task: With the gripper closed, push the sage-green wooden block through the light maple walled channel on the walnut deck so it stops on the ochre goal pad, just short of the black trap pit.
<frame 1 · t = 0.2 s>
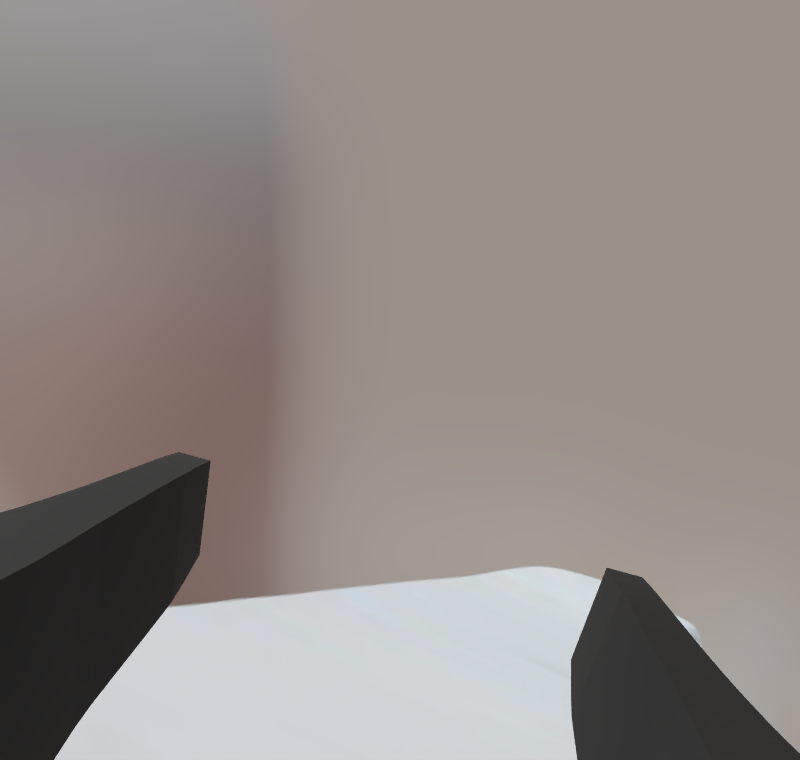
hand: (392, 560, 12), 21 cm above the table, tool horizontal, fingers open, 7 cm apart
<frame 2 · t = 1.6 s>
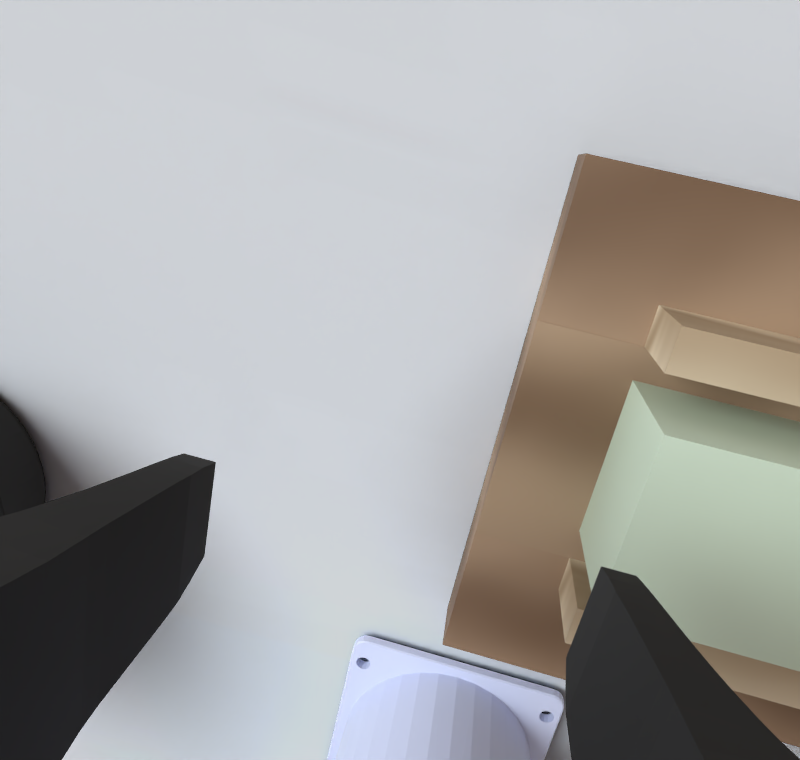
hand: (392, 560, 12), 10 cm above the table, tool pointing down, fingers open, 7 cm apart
block: (690, 480, 19), point 2 cm above the table, touching deck
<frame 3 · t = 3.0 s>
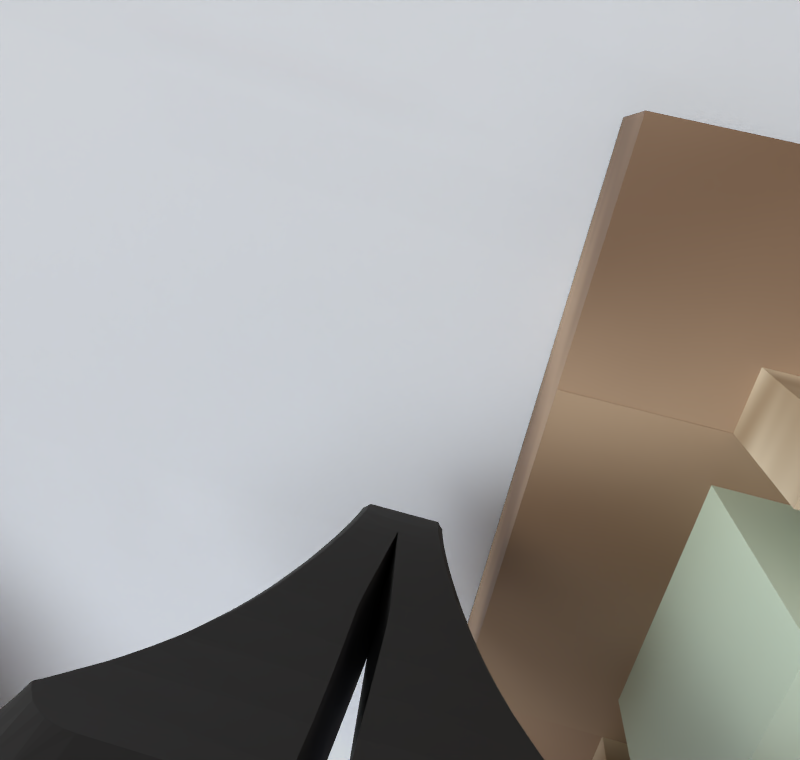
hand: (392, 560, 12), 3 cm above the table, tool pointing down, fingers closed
block: (797, 637, 12), point 2 cm above the table, touching deck
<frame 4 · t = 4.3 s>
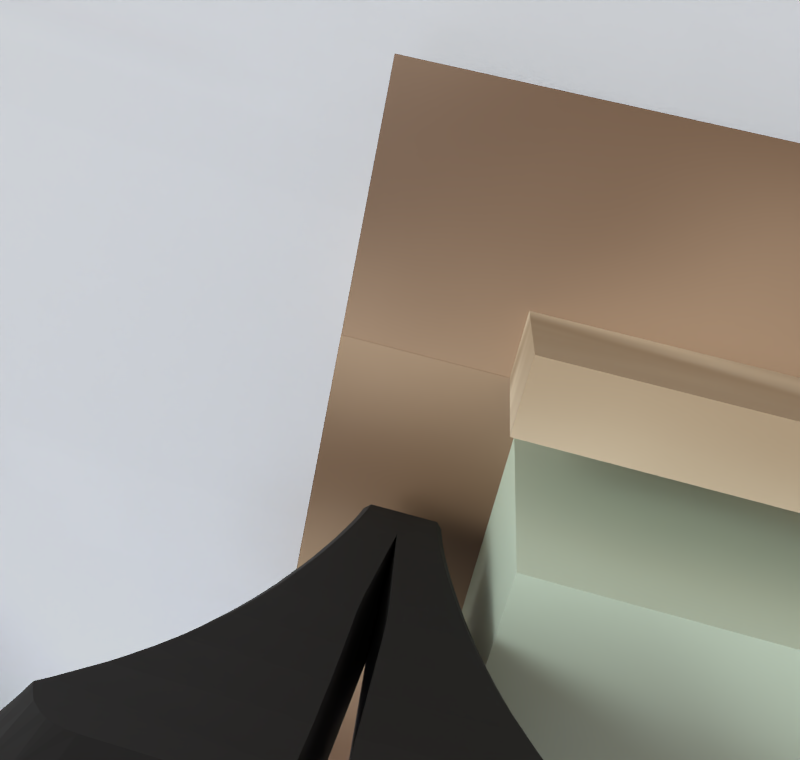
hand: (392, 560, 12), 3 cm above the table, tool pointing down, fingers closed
block: (610, 588, 12), point 2 cm above the table, touching gripper
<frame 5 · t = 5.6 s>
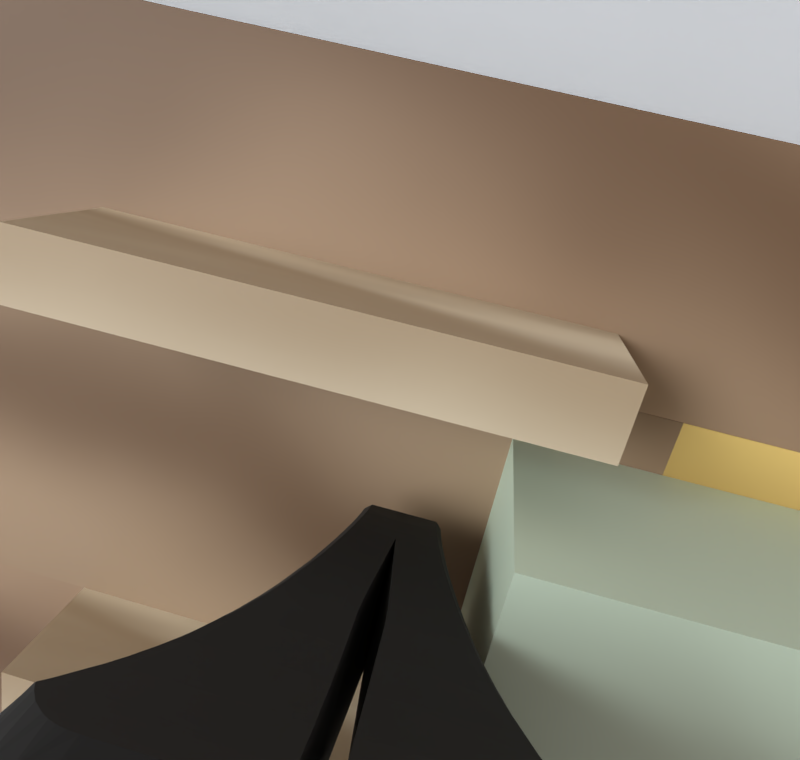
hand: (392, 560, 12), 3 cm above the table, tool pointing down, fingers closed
block: (608, 589, 12), point 2 cm above the table, touching deck, gripper
deck: (624, 538, 14), on the table
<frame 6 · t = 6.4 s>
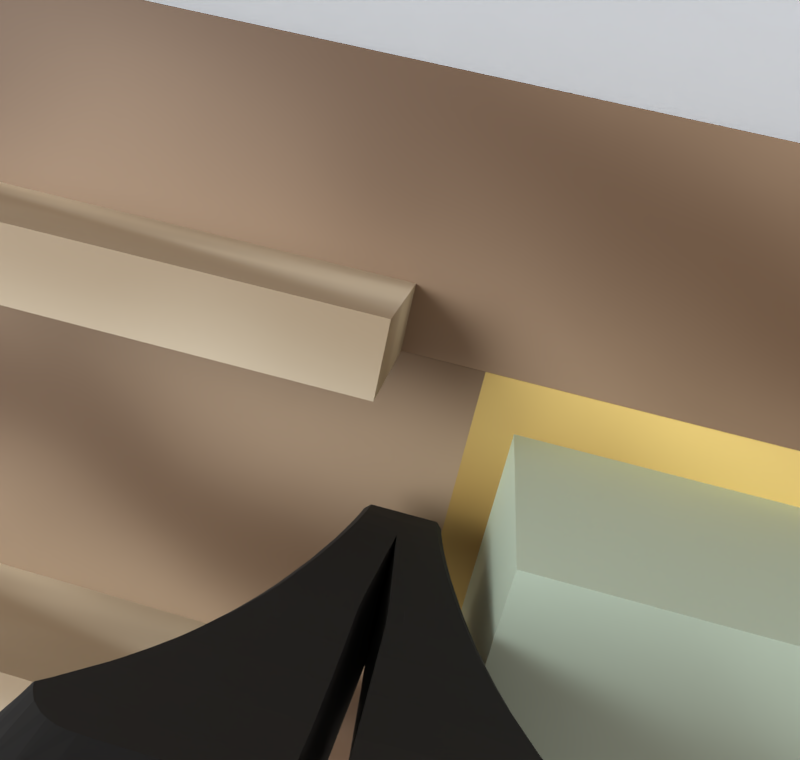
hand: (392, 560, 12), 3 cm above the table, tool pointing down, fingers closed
block: (609, 586, 12), point 2 cm above the table, touching deck, gripper
deck: (470, 496, 14), on the table
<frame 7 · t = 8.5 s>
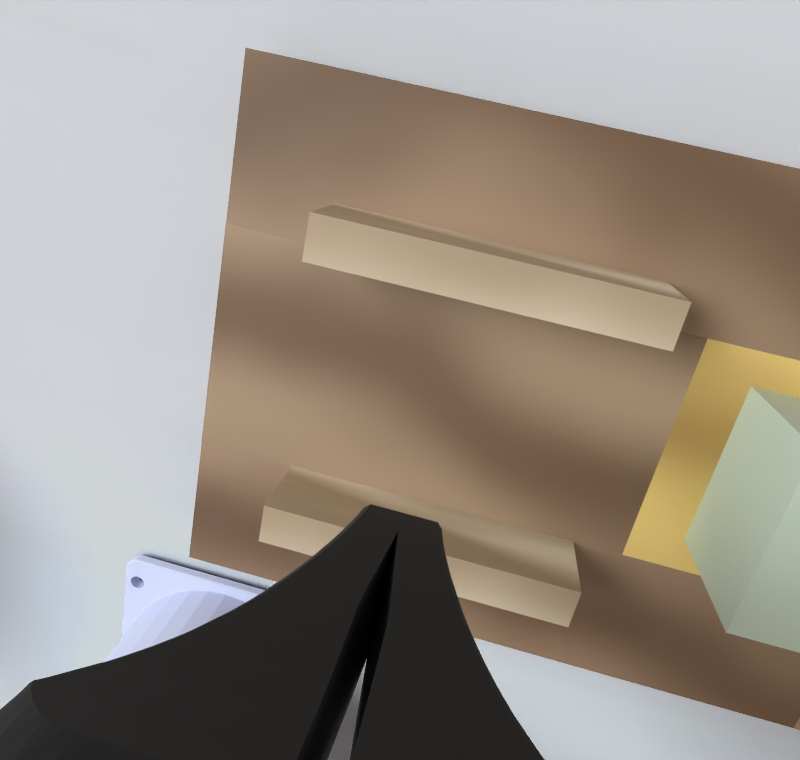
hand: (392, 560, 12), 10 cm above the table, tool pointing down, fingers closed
deck: (664, 429, 20), on the table
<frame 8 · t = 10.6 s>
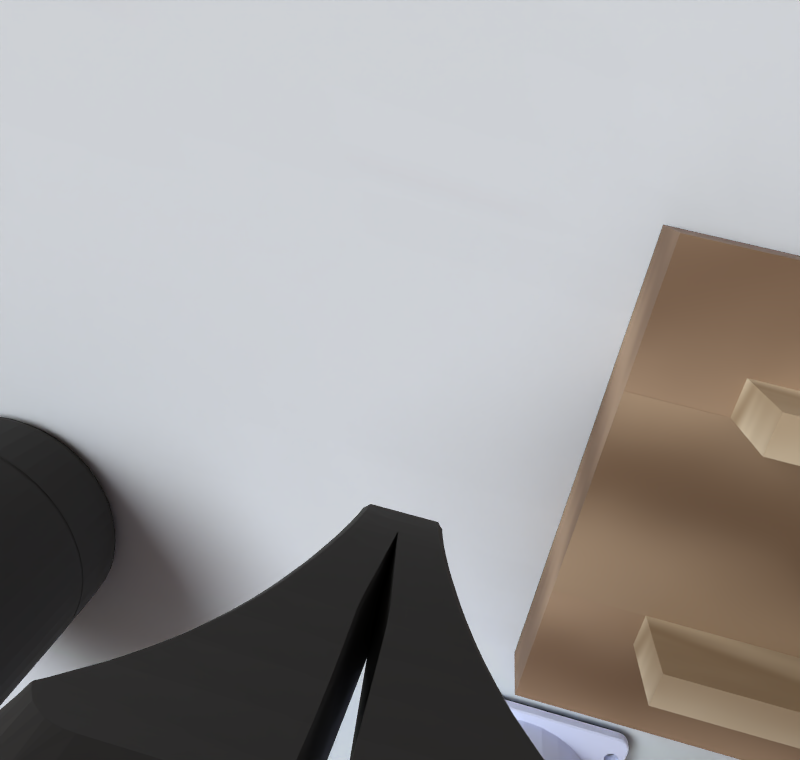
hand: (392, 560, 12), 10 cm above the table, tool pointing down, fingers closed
pen holder: (23, 509, 26), on the table
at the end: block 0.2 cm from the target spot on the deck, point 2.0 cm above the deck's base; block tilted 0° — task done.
